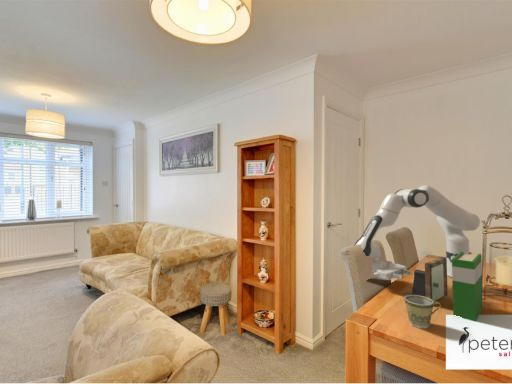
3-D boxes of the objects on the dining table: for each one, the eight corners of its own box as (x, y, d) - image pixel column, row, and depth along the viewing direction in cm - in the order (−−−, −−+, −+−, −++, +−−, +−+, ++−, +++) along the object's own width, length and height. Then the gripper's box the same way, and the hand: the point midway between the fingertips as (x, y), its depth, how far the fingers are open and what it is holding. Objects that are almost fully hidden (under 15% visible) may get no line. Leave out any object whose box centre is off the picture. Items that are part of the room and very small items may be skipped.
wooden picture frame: (442, 294, 138) (442, 256, 138) (447, 295, 136) (446, 257, 136) (425, 304, 127) (424, 263, 127) (430, 305, 125) (429, 264, 125)
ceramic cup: (411, 330, 105) (410, 304, 104) (401, 318, 114) (400, 294, 114) (448, 332, 103) (447, 305, 102) (435, 319, 112) (434, 295, 112)
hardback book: (462, 302, 127) (460, 251, 127) (482, 307, 122) (481, 254, 122) (453, 315, 115) (451, 259, 115) (475, 321, 110) (474, 262, 110)
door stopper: (424, 298, 132) (423, 274, 132) (411, 295, 137) (410, 271, 137) (432, 294, 137) (432, 270, 137) (420, 290, 142) (419, 267, 142)
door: (441, 294, 136) (440, 262, 136) (447, 296, 133) (447, 264, 133) (429, 302, 128) (428, 268, 128) (435, 304, 126) (434, 269, 125)
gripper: (371, 267, 148) (396, 273, 136) (391, 260, 160) (416, 265, 148) (371, 278, 148) (396, 285, 137) (391, 271, 160) (416, 277, 148)
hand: (407, 275), depth 143 cm, fingers open, 8 cm apart
